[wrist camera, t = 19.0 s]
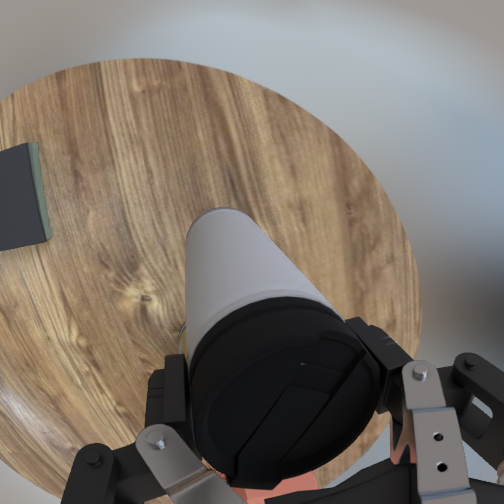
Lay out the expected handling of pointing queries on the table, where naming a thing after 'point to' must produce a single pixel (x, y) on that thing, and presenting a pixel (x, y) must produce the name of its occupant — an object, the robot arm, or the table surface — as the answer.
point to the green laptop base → (39, 186)
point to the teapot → (278, 488)
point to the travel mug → (267, 358)
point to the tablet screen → (18, 201)
